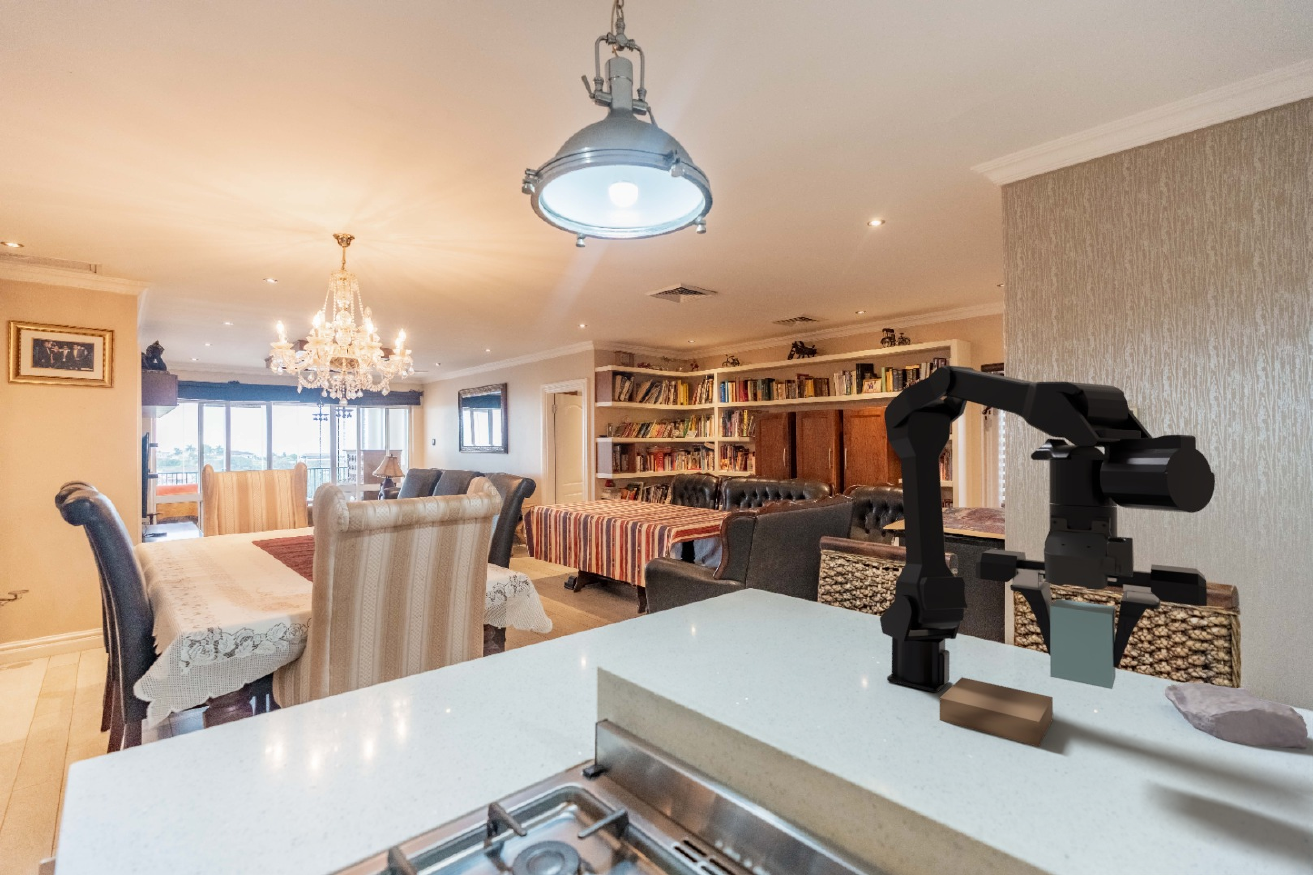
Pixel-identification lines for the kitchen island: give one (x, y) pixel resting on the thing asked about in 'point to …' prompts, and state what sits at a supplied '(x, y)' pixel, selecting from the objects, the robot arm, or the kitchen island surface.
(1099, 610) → the teal block
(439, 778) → the kitchen island surface
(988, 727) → the walnut base block
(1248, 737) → the stone block
